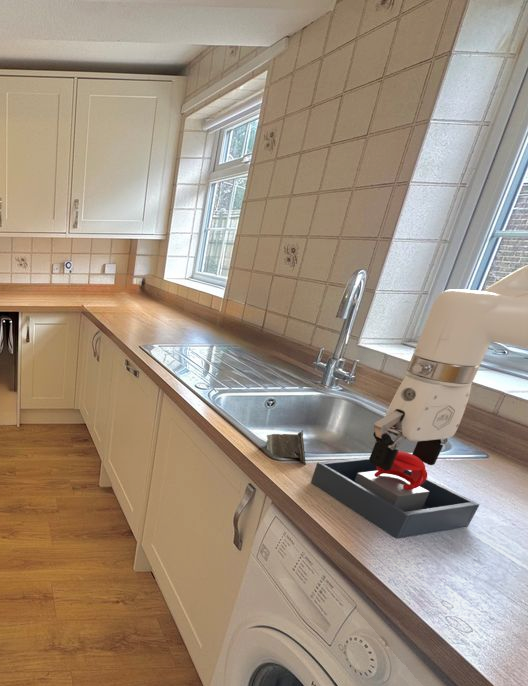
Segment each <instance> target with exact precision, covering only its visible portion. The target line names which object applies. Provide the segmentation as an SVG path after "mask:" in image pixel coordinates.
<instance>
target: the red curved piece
mask: <svg viewBox="0 0 528 686" xmlns="http://www.w3.org/2000/svg"><path fill="white" fill-rule="evenodd" d="M412 454H413V453H410V452H408V451H407V452H406V451H401V450H400V451H399V450H398V453H397V455H396V458H395V460H394V462H393V465H392V467H391V469H390V470H388V471H386V470H384V469H382V468H380V467H378V466H377V470H378V471H377V472H376V473H375V474H374V475H375V477H378V476H380V475H381V474H391V475H396V476H399V477H401V478H403V479H405V480H407V481H408V482H410V484H408V485H404V486H403V488H404V489H405V490H410V489H415V488H417V487H419V486H420V485H422V484H423V483H424V482H425V481H426V479H427V478H428V472H427V470H426V463H424V462H423V461H422V460H421V459H419V458H418V457H416V456H415V455H412ZM405 470H411V477H410V476H408V475H407V474H404V473H402V472H404V471H405Z"/></svg>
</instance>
